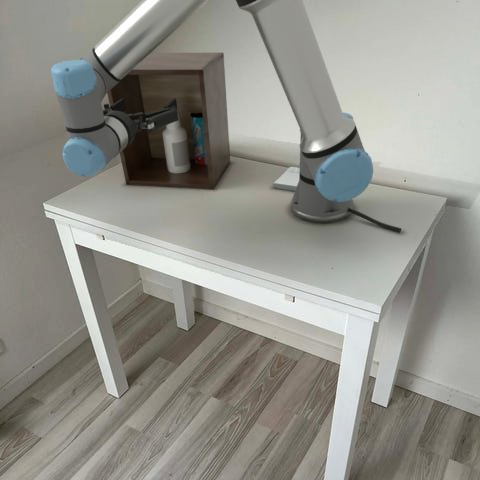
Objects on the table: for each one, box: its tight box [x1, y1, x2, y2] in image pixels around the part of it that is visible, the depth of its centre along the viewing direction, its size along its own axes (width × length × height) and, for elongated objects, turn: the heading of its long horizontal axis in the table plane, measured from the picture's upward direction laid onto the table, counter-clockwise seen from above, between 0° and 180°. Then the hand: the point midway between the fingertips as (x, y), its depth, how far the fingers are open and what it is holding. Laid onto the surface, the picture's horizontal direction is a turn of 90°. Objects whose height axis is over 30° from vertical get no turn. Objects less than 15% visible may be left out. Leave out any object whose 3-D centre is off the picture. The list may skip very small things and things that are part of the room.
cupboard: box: [106, 52, 231, 190], centre depth 136 cm, size 19×26×30 cm
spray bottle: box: [162, 108, 190, 173], centre depth 139 cm, size 7×7×18 cm
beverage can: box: [190, 113, 207, 165], centre depth 145 cm, size 6×6×15 cm
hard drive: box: [272, 166, 300, 192], centre depth 137 cm, size 2×8×12 cm
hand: (149, 104), depth 120 cm, fingers open, 13 cm apart
